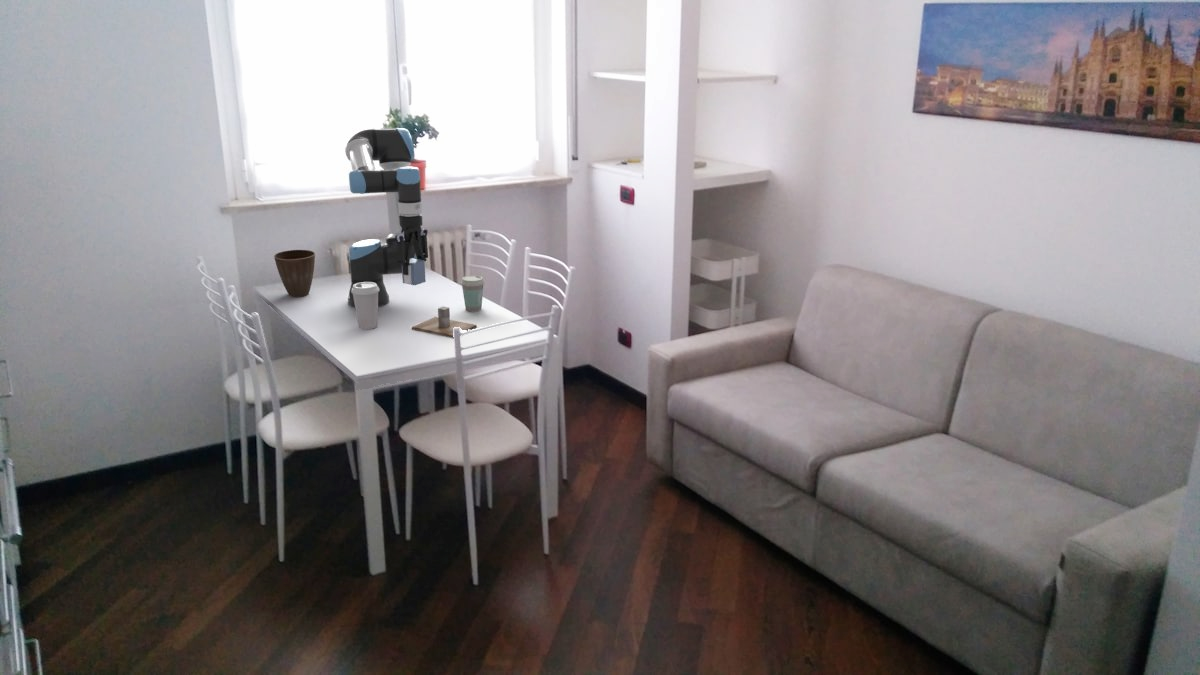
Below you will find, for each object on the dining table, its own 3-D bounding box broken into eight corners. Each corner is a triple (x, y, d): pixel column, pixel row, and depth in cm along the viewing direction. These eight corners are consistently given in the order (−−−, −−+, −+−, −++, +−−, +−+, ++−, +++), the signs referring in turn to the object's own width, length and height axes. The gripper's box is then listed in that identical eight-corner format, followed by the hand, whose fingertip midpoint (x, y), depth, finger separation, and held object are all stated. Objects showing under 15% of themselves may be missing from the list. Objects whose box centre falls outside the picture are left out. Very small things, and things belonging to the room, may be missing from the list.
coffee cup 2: (480, 313, 336) (479, 282, 332) (458, 311, 338) (457, 280, 334) (488, 306, 344) (487, 275, 340) (466, 305, 345) (465, 274, 342)
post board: (412, 329, 318) (411, 308, 316) (435, 318, 329) (434, 299, 327) (454, 337, 310) (453, 317, 308) (476, 327, 321) (475, 307, 319)
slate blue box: (402, 283, 311) (401, 261, 309) (413, 279, 316) (412, 258, 313) (414, 285, 309) (413, 263, 306) (425, 281, 313) (424, 260, 311)
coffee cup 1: (358, 321, 325) (355, 280, 320) (385, 322, 325) (382, 281, 320) (350, 330, 316) (347, 288, 311) (378, 331, 316) (375, 289, 311)
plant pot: (302, 302, 346) (298, 260, 341) (269, 297, 351) (265, 256, 346) (326, 291, 359) (323, 251, 354) (294, 287, 364) (291, 248, 359)
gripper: (400, 220, 295) (404, 289, 303) (437, 211, 310) (440, 277, 318) (382, 217, 299) (387, 286, 306) (420, 208, 314) (423, 274, 321)
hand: (414, 281), depth 312 cm, fingers closed on slate blue box, 5 cm apart
